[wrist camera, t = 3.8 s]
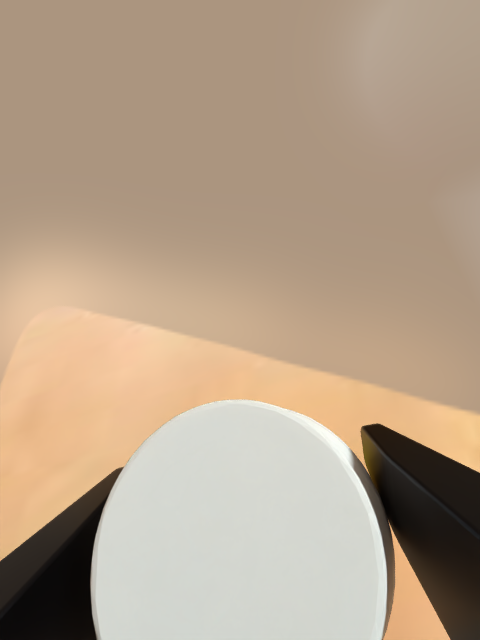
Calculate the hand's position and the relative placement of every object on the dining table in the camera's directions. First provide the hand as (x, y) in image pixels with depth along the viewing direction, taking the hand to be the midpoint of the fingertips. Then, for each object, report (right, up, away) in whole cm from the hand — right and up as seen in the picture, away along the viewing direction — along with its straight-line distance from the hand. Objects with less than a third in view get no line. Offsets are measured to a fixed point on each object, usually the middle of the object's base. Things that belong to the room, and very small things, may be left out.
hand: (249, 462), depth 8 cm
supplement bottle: (+1, -5, +5) cm, 7 cm away
